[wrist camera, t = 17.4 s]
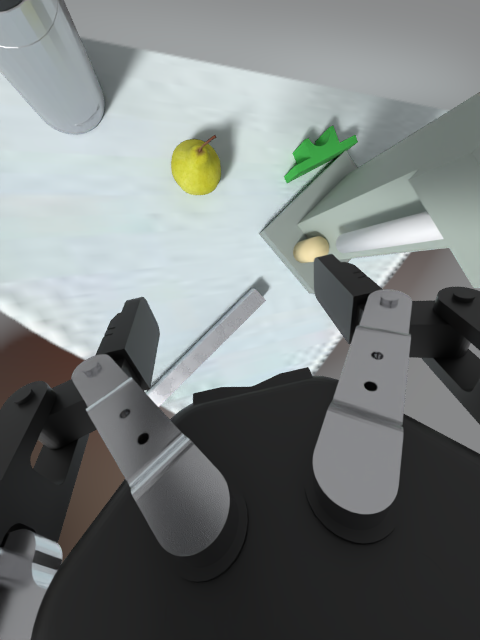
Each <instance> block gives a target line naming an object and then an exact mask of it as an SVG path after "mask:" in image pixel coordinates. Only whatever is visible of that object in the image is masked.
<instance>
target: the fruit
mask: <svg viewBox="0 0 480 640" xmlns="http://www.w3.org/2000/svg"><path fill="white" fill-rule="evenodd" d="M215 138H216V135H214V136H212V137H211V138H210V139H208V140H207V141H206V142H204V141H201V140H197V139H190V140H185V141H183V142H182V143H180V144H179V145H178V146H177V147H176V148H175V150H174V152H173V155H172V161H171V169H172V174H173V177H174V179H175V181H176V182H177V183H178V185H179V186H180V187H181V188H182V189H183V190H184V191H185V192H186V193H189V194H192V195H205V194H208V193H210V192H212V191H213V190H215V188H216V187H217V185H218V183H219V181H220V177H221V166H220V160H219V157H218V155H217V153H216V152H215V150H214V149H213V148H212V147H211V146H210V145H209V144H208V143H209V142H210V141H211V140H213V139H215Z"/></svg>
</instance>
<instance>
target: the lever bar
mask: <svg viewBox="0 0 480 640" xmlns="http://www.w3.org/2000/svg"><path fill="white" fill-rule="evenodd" d="M265 301H266V300H265V299H264V298H263V297H262V295H261V294H260V293H259V292H258V291H257V290H256V289H253V288H251V289H250V290H249V291H248V292H247V293H246V294H245V295H244V296H243V297H242V298H241V299H240V300H239V301H238V302H237V303H236V304H235V305H234V306H233V307H232V308H231V309H230V310H229V311H228V312H227V313H226V314H225V315H224V316H223V317H222V318H221V319H220V320H219V321H218V322H217V323H216V324H215V325H214V326H213V327H212V328H211V329H210V330H209V331H208V332H207V333H206V334H205V335H204V336H203V337H202V338H201V339H200V340H199V341H198V342H197V343H196V344H195V345H194V346H193V347H192V348H191V349H190V350H189V351H188V352H187V353H186V354H185V355H184V356H183V357H182V358H181V359H180V360H179V361H178V362H177V363H176V364H175V365H174V366H173V367H172V368H171V369H170V370H169V371H168V372H167V373H166V374H165V375H164V376H163V377H162V378H160V379H159V380H158V381H157V382H156V383H155V384H154V385H153V386H152V387H151V388H150V389H149V390H148V391H147V392H146V394H147V395H148V396H149V397H150V398H151V400H152V401H153V402H154V403H155V404H156V405H157V406H158V407H159V406H160V405H161V404H162V403H163V402H164V401H165V400H166V399H167V398H168V397H169V396H170V395H171V394H172V393H173V392H174V391H175V390H176V389H177V388H178V387H179V386H180V385H181V384H182V383H183V382H184V381H185V380H186V379H187V378H188V377H189V376H190V375H191V374H192V373H193V372H194V371H195V370H196V369H197V368H198V367H199V366H200V365H201V364H202V363H203V362H204V361H205V360H206V359H207V358H208V357H209V356H210V355H211V354H212V353H213V352H214V351H215V350H216V349H217V348H218V347H219V346H220V345H221V344H222V343H223V342H224V341H225V340H226V339H227V338H229V337H230V336H231V335H232V334H233V333H234V332H235V331H236V330H237V329H238V328H239V327H240V326H241V325H242V324H243V323H244V322H245V321H246V320H247V319H248V318H249V317H250V316H251V315H252V314H253V313H254V312H255V311H256V310H257V309H258V308H259V307H260V306H261V305H262V304H263V303H264V302H265Z"/></svg>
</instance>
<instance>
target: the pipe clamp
mask: <svg viewBox="0 0 480 640" xmlns="http://www.w3.org/2000/svg"><path fill="white" fill-rule="evenodd" d="M357 142H358V141H357V138H356V135H354V136H352V137H350V138H348V139H346V140H344V141H342V142H340V143H339V140H338V137H337V135H336V132H335V129H334V126H331V127H329V128H328V129H327V130H326V131H325V132H324V133H323V134H322V135H321V136H320V137H319V138H318V139H317V140H316V141H315V143H316V145H314V144H312V143H311V141H310V140H309V138H307V139H305V140H304V141H303V142H302V143H301V144H300V146H299V147H298V148H297V149H296V150H295V151H294V152H293V155H294V158H295V160H296V163H297V165H296V166H294V167H293V168H292V169H291V170H290V171H289V172H288V173H287V174H286V175H285V176H284V178H285V180H286V182H287V183H288V182H290V181H292V180H294V179H296V178H298V177H300V176H302V175H304V174H306V173H308V172H309V171H311V170H313V169H315V168H317V167H319V166H321V165H323V164H325V163H327V162H329V161H330V160H332V159H334V158H336V157H338V156H339V155H340V154H342V153H343V152H344V151H345V150H346V151H347V150H348V149H350V148H351V147H352V146H353V145H355V144H356V143H357Z"/></svg>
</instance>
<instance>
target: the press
mask: <svg viewBox="0 0 480 640" xmlns="http://www.w3.org/2000/svg"><path fill="white" fill-rule="evenodd" d="M260 235H261V237H262V238H263V239H264V240H265V241H266V243H267V244H268V245H269V246H270V247H271V248H272V250H273V251H274V252H275V253H276V254H277V256H278V257H279V258H280V259H281V260H282V262H283V263H284V264H285V265H286V266H287V267H288V269H289V270H290V271H291V272H292V273H293V275H294V276H295V277H296V278H297V279H298V280H299V282H300V283H301V284H302V285H303V286H304V288H305V289H306V290H307V291H308V292H309V293H311V294H315V292H314V259H315V258H316V257H320V256H324V255H328V254H333V255H334V256H335V257H336V258H337V259H338V260H339V261H340V262H347V263H348V261H349V260H350V259H351V258H359V257H369V256H378V255H387V254H396V253H405V252H414V251H423V250H433V249H442V248H450V250H451V252H452V253H453V255H454V256H455V258H456V260H457V261H458V263H459V265H460V266H461V268H462V270H463V271H464V273H465V274H466V276H467V278H468V280H469V281H470V283H471V284H472V286H473V288H480V92H479V93H477V94H476V95H474V96H473V97H471V98H469V99H468V100H466V101H465V102H463V103H461V104H460V105H458V106H457V107H455V108H453V109H452V110H450V111H448V112H447V113H445V114H444V115H442V116H440V117H439V118H437V119H436V120H434V121H432V122H431V123H429V124H428V125H426V126H424V127H423V128H421V129H420V130H418V131H416V132H415V133H413V134H411V135H410V136H408V137H407V138H405V139H403V140H402V141H400V142H399V143H397V144H395V145H394V146H392V147H391V148H389V149H387V150H386V151H384V152H383V153H381V154H379V155H378V156H376V157H375V158H373V159H371V160H370V161H368V162H366V163H365V164H363V165H362V166H360V167H358V168H357V166H356V165H355V163H354V161H353V160H352V158H351V157H350V155H349V154H348V152H347V151H346V150H345V151H344V152H343V153H342V154H340V155H339V156H338V157H337V158H336V159H335V160H334V161H333V162H332V163H331V164H330V165H328V166H327V167H326V168H325V169H324V170H323V171H322V172H321V173H320V174H319V175H318V176H317V177H316V178H315V179H314V180H313V181H312V182H311V183H310V184H309V185H308V186H307V187H306V188H305V189H304V190H303V191H302V192H301V193H300V194H299V195H298V196H297V197H296V198H295V199H294V200H293V201H292V202H291V203H290V204H289V205H288V206H287V207H286V208H285V209H284V210H283V211H282V212H281V213H280V214H279V215H278V216H277V217H276V218H275V219H274V220H273V221H272V222H271V223H270V224H269V225H268V226H267V227H266V228H265V229H264V230H263V231H262V232H261V233H260Z"/></svg>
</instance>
